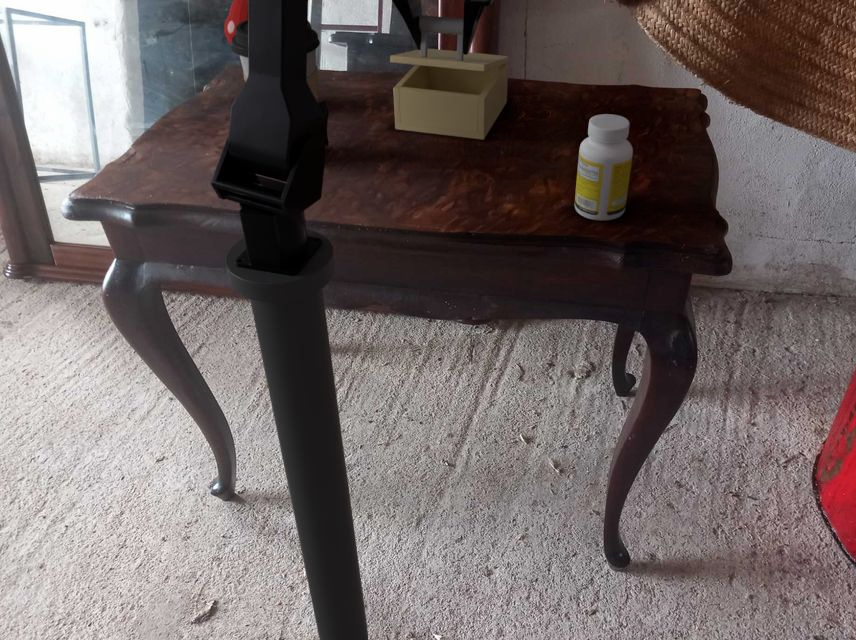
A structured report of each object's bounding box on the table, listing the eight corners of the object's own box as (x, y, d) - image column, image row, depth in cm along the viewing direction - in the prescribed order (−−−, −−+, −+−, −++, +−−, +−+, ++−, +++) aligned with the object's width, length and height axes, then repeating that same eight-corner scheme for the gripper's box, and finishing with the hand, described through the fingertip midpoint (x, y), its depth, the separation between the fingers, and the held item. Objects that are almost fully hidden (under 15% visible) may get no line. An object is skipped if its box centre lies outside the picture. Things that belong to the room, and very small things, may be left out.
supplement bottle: (623, 198, 86) (635, 111, 80) (626, 223, 82) (639, 134, 76) (573, 196, 87) (581, 109, 81) (573, 221, 83) (582, 131, 76)
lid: (484, 72, 92) (487, 22, 90) (390, 62, 95) (391, 13, 92) (508, 62, 104) (512, 18, 102) (424, 54, 106) (425, 10, 104)
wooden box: (483, 139, 98) (484, 98, 95) (395, 129, 100) (392, 88, 97) (506, 102, 107) (508, 62, 104) (425, 93, 110) (424, 54, 106)
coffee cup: (340, 166, 92) (327, 33, 83) (259, 179, 89) (235, 44, 80) (321, 134, 99) (306, 8, 89) (245, 146, 96) (221, 17, 87)
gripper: (541, -106, 89) (533, 36, 99) (384, -114, 93) (392, 23, 103) (519, -85, 81) (514, 68, 91) (349, -94, 85) (361, 53, 95)
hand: (443, 51), depth 95 cm, fingers closed on lid, 5 cm apart
